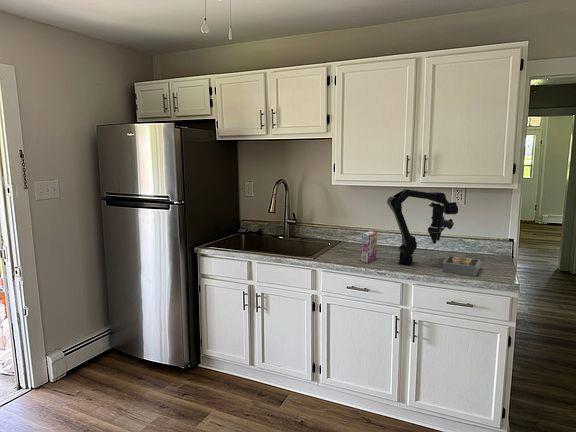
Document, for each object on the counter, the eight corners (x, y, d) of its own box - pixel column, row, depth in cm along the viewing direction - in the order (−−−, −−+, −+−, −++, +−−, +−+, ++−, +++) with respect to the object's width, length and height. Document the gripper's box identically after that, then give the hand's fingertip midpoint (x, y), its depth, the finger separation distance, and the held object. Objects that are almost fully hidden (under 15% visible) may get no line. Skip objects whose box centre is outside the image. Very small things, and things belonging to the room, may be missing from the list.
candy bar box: (368, 263, 230) (369, 234, 227) (360, 262, 233) (361, 234, 230) (376, 259, 239) (377, 231, 236) (368, 257, 242) (369, 230, 239)
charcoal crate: (442, 271, 213) (443, 262, 212) (448, 264, 226) (448, 255, 226) (476, 276, 205) (476, 266, 204) (479, 268, 218) (480, 259, 218)
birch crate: (451, 269, 215) (451, 259, 214) (453, 266, 220) (454, 257, 220) (469, 271, 210) (470, 262, 210) (471, 268, 216) (472, 259, 215)
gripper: (450, 218, 214) (448, 247, 216) (456, 213, 229) (454, 240, 232) (428, 216, 219) (426, 244, 222) (435, 212, 235) (434, 238, 238)
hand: (436, 242), depth 228 cm, fingers open, 9 cm apart
